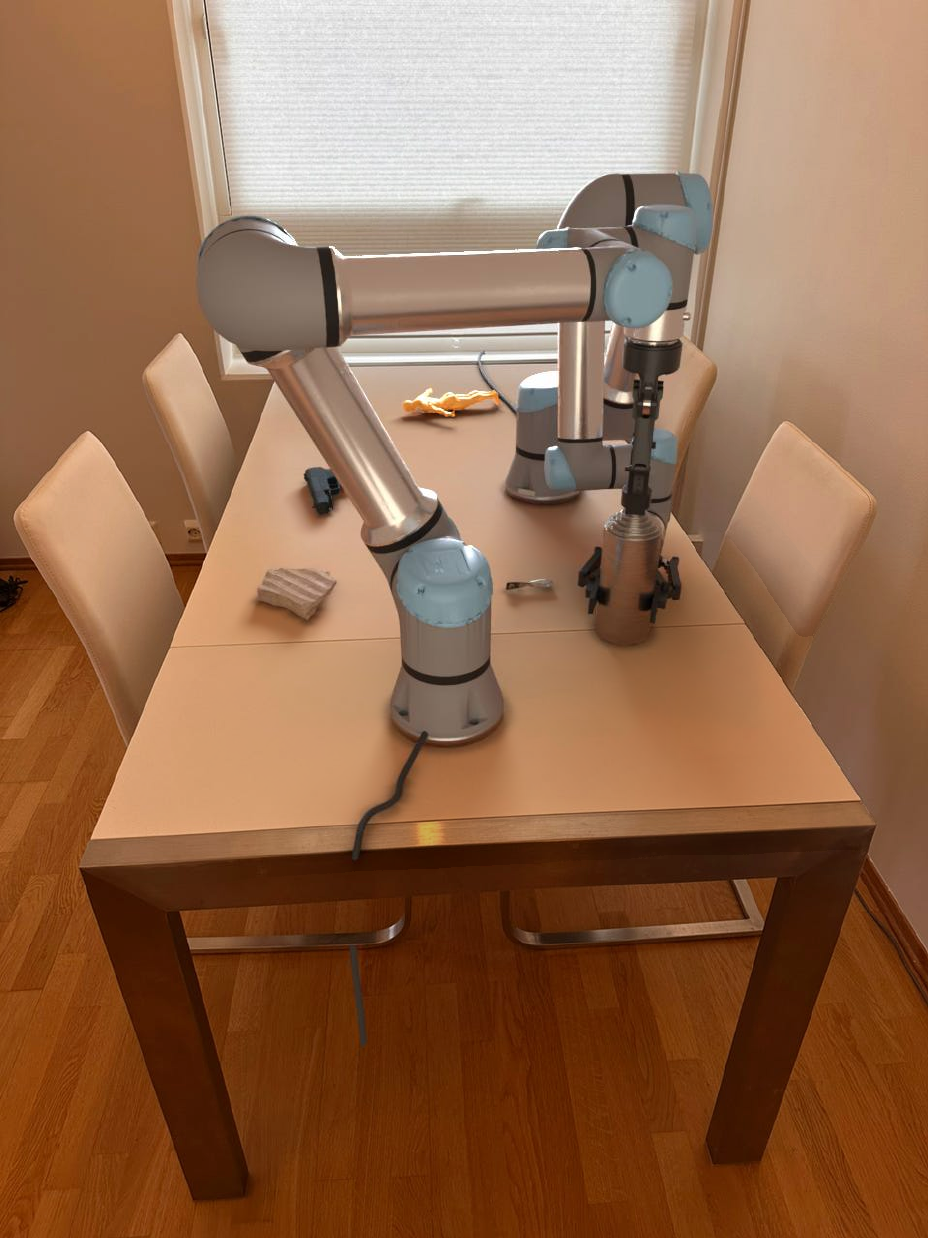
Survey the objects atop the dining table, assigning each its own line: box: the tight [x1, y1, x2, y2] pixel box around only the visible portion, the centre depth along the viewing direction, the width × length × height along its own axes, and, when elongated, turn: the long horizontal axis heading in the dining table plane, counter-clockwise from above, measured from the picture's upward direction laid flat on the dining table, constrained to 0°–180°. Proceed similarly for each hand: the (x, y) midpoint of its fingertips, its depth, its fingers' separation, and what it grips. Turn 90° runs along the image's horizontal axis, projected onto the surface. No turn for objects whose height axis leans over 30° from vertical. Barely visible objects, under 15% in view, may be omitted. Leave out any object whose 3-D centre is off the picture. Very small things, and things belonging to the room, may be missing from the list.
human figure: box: [402, 385, 500, 418], centre depth 225 cm, size 20×20×4 cm
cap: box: [620, 485, 652, 510], centre depth 126 cm, size 4×4×2 cm
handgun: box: [303, 466, 343, 515], centre depth 181 cm, size 3×18×12 cm
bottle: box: [594, 507, 663, 647], centre depth 132 cm, size 8×8×23 cm
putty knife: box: [505, 578, 554, 591], centre depth 148 cm, size 1×8×2 cm, turn 103°
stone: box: [256, 567, 337, 621], centre depth 147 cm, size 13×12×3 cm
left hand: (635, 502), depth 127 cm, fingers open, 6 cm apart
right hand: (621, 610), depth 131 cm, fingers closed on bottle, 8 cm apart
